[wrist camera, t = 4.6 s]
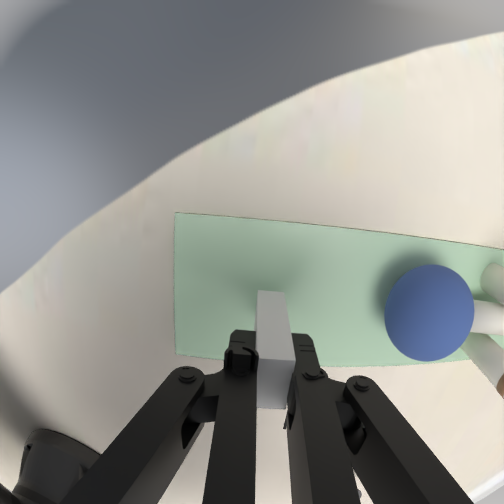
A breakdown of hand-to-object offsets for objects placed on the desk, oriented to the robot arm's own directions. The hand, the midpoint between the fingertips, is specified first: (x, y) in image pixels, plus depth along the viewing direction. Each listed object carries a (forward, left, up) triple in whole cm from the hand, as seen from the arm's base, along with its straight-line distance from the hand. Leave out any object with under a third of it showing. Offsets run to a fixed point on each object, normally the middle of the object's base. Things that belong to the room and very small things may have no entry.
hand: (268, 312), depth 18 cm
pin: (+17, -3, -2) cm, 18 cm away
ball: (+10, +1, +1) cm, 10 cm away
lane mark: (+10, 0, -2) cm, 10 cm away
